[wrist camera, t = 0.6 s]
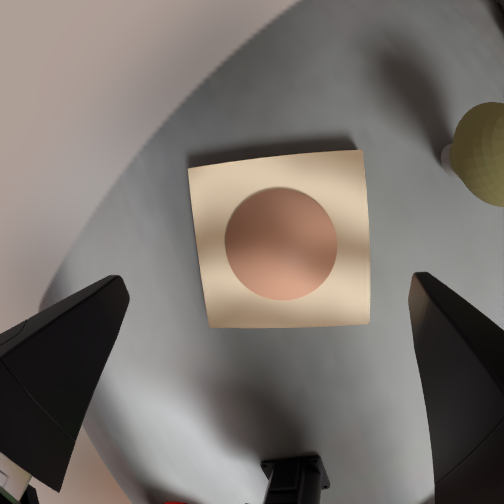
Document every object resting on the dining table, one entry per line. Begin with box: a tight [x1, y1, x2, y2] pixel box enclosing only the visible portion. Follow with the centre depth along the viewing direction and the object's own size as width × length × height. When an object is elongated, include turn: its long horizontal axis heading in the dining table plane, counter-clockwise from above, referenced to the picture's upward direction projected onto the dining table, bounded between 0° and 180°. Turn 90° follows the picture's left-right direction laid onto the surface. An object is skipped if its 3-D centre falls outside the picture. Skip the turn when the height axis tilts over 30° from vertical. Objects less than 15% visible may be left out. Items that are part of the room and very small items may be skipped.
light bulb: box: [441, 102, 504, 207], centre depth 13 cm, size 6×6×10 cm
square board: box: [188, 150, 370, 328], centre depth 21 cm, size 12×12×2 cm
